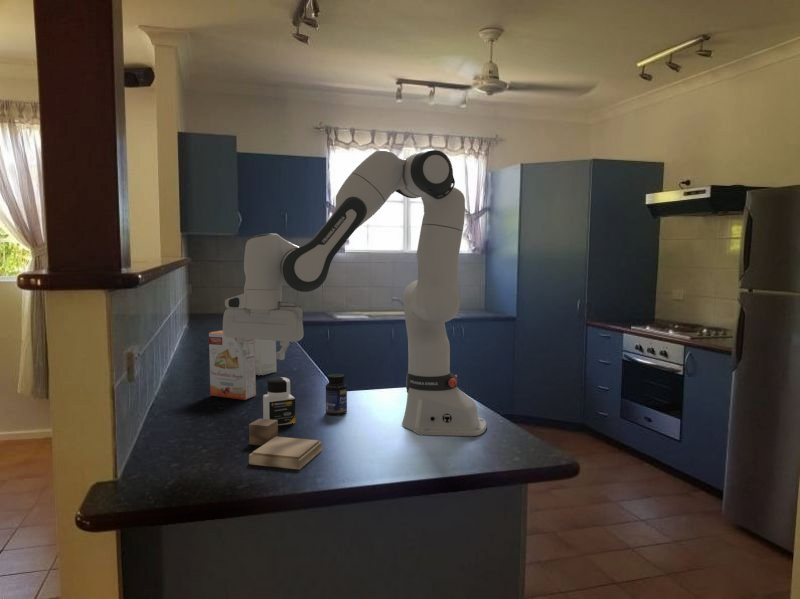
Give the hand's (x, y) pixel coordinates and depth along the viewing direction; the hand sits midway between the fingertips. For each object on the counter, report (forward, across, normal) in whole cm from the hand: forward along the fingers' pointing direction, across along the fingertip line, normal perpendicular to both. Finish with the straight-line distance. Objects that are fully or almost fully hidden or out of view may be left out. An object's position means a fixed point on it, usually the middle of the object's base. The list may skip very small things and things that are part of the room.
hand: (262, 358), depth 133 cm
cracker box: (+21, +31, -36) cm, 52 cm away
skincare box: (+21, +40, -71) cm, 84 cm away
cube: (+21, -1, 0) cm, 21 cm away
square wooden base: (+20, -11, +8) cm, 24 cm away
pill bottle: (+20, -8, -28) cm, 35 cm away
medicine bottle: (+21, +4, -16) cm, 26 cm away
